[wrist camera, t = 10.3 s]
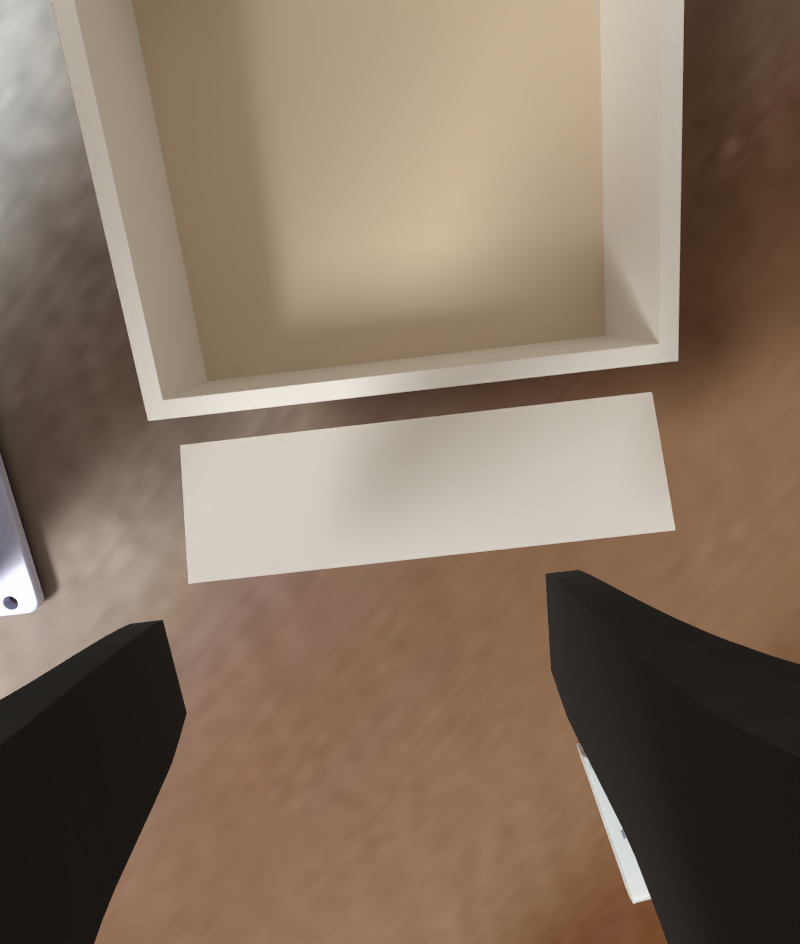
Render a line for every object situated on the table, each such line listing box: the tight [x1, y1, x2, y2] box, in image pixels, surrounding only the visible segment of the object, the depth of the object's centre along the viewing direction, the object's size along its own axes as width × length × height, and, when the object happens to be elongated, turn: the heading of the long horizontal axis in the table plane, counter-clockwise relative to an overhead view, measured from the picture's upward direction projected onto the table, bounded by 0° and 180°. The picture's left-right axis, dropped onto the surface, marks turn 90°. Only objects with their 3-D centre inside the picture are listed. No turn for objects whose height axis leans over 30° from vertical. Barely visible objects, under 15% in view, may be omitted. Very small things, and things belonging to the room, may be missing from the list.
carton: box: [51, 0, 684, 421], centre depth 16 cm, size 14×12×4 cm
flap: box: [180, 392, 675, 584], centre depth 16 cm, size 12×4×1 cm, turn 96°
